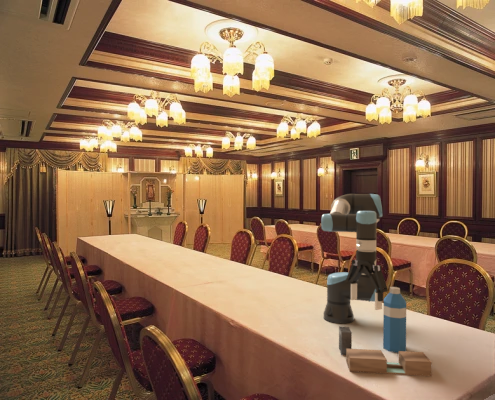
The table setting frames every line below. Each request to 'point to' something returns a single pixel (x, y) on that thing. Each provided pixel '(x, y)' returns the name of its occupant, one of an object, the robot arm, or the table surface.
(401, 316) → the water bottle
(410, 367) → the rail
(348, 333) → the clip
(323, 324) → the table surface
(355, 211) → the robot arm
